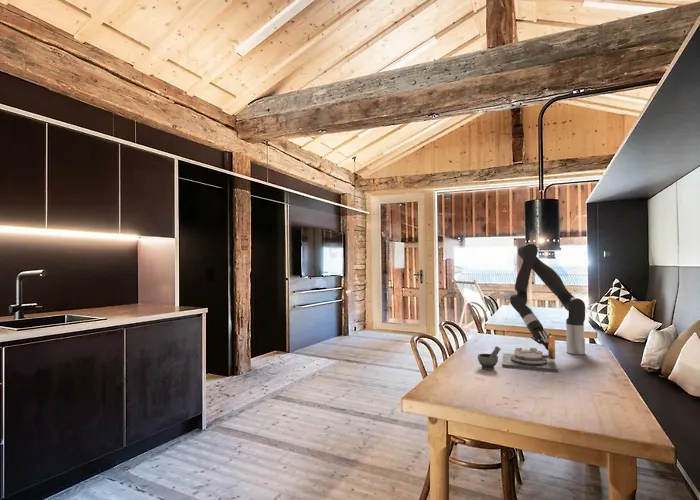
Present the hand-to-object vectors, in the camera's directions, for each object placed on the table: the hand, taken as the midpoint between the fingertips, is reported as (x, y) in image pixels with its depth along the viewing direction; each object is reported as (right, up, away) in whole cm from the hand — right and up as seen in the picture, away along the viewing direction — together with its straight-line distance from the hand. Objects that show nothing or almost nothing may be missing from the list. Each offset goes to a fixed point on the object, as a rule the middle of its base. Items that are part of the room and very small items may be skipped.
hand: (549, 349), depth 213 cm
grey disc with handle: (-9, -4, -1) cm, 10 cm away
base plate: (-12, -7, -1) cm, 14 cm away
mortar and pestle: (-37, -7, -12) cm, 40 cm away
